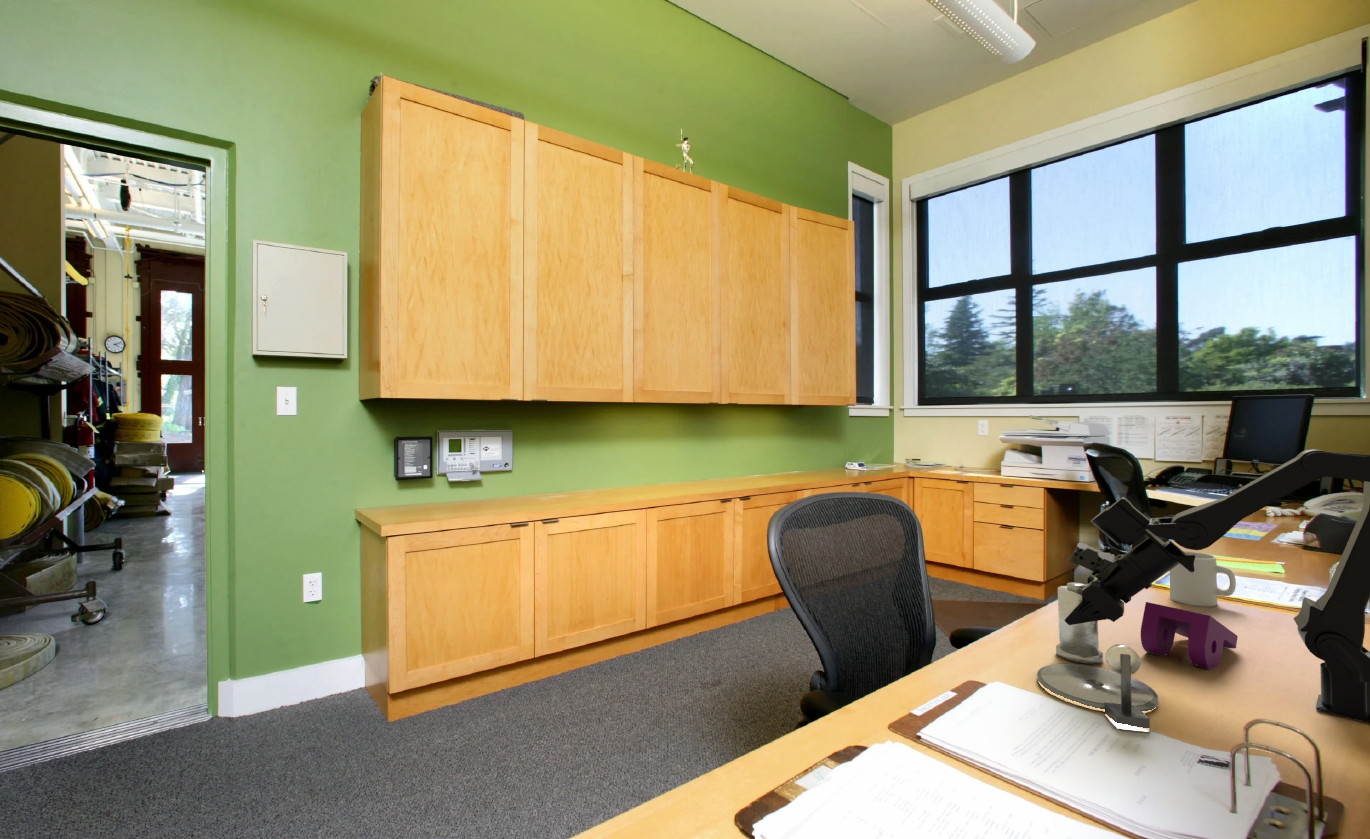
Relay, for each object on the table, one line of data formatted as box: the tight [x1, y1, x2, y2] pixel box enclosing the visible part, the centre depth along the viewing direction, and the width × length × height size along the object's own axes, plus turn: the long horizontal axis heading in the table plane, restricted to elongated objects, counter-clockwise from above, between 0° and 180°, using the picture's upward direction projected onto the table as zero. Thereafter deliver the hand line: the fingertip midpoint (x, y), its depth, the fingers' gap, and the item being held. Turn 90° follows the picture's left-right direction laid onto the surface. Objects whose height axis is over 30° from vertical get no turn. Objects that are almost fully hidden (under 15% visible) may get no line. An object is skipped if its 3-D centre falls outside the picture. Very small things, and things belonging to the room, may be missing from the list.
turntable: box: [1036, 663, 1159, 711], centre depth 96 cm, size 16×16×1 cm
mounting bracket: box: [1140, 601, 1239, 671], centre depth 110 cm, size 9×8×18 cm
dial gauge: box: [1104, 643, 1151, 729], centre depth 85 cm, size 4×4×11 cm
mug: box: [1169, 550, 1237, 608], centre depth 139 cm, size 12×8×11 cm
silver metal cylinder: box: [1055, 582, 1104, 664], centre depth 109 cm, size 7×7×13 cm
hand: (1069, 618), depth 110 cm, fingers closed on silver metal cylinder, 6 cm apart
